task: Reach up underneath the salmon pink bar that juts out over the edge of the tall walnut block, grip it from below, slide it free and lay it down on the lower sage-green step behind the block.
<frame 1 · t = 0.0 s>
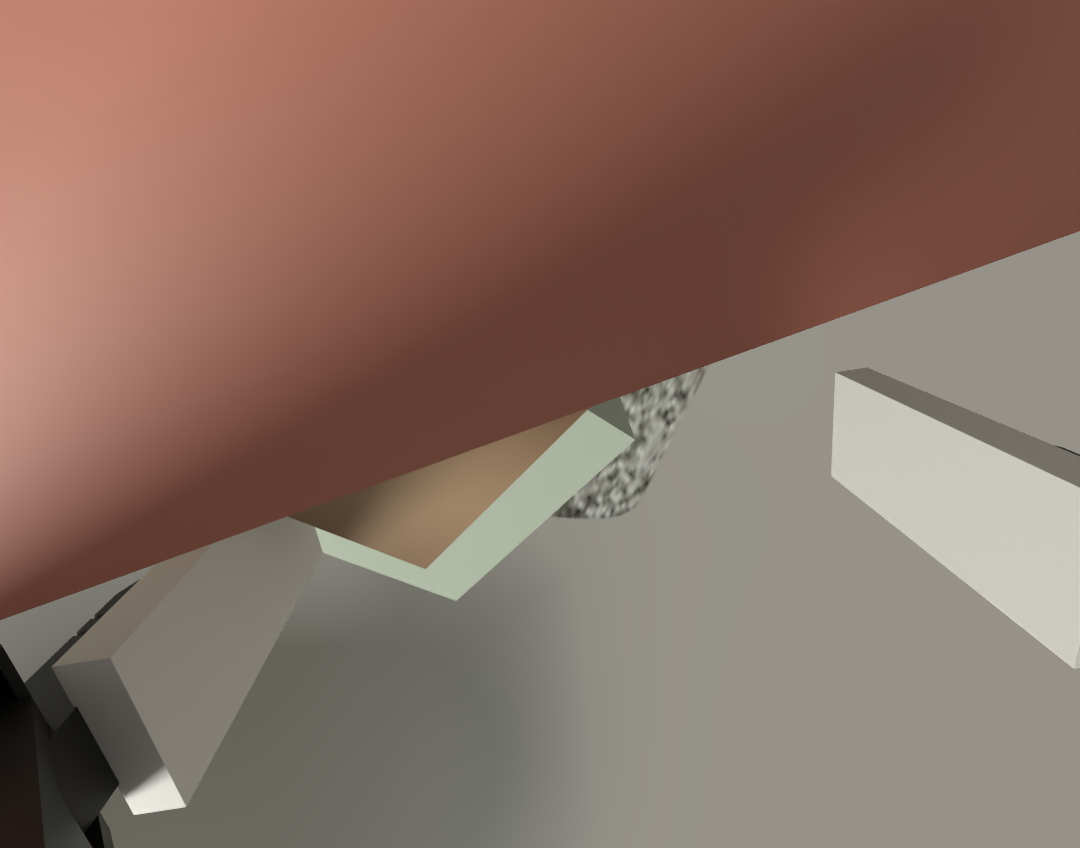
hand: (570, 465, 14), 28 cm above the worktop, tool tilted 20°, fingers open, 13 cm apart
sage step: (444, 292, 40), on the worktop
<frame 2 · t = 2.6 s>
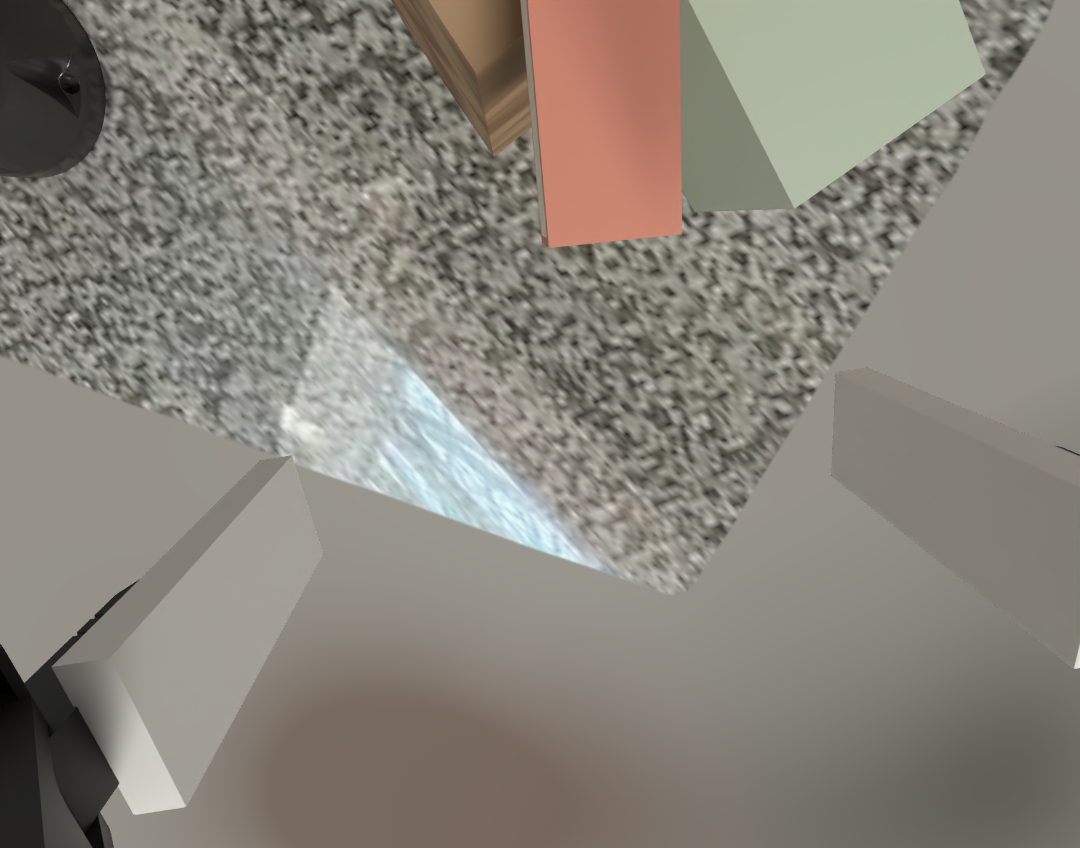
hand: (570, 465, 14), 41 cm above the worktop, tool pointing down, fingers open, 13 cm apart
sage step: (714, 96, 48), on the worktop
walnut block: (518, 34, 46), on the worktop
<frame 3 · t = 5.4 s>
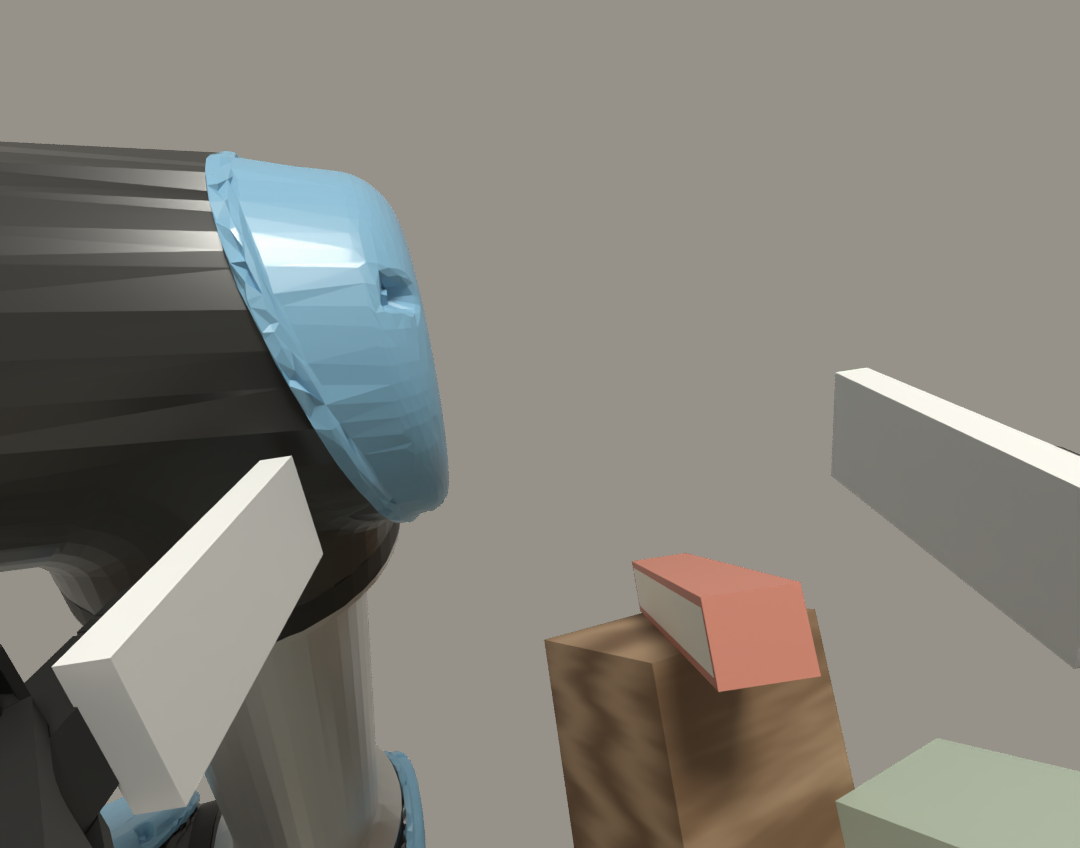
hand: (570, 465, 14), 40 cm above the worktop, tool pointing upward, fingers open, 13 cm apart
salmon pink bar: (703, 633, 36), point 30 cm above the worktop, touching walnut block
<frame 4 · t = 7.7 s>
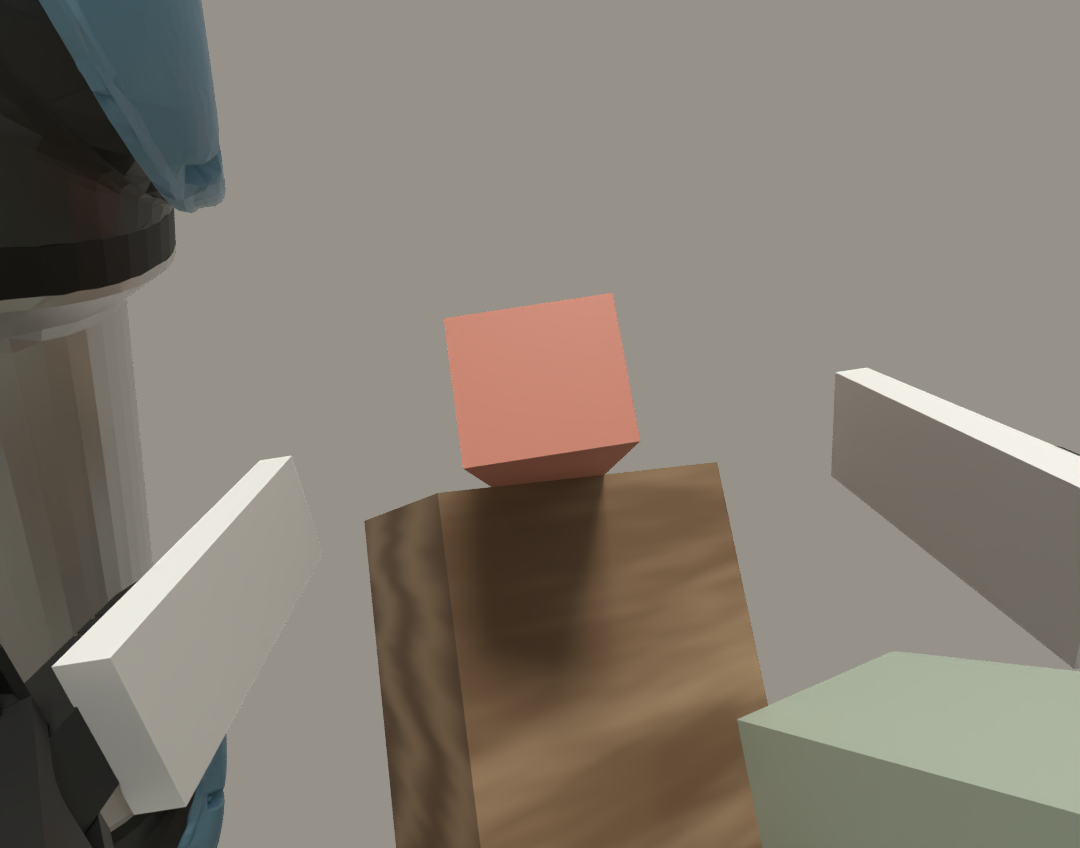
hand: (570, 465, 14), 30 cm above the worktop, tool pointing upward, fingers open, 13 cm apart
salmon pink bar: (551, 485, 25), point 30 cm above the worktop, touching walnut block
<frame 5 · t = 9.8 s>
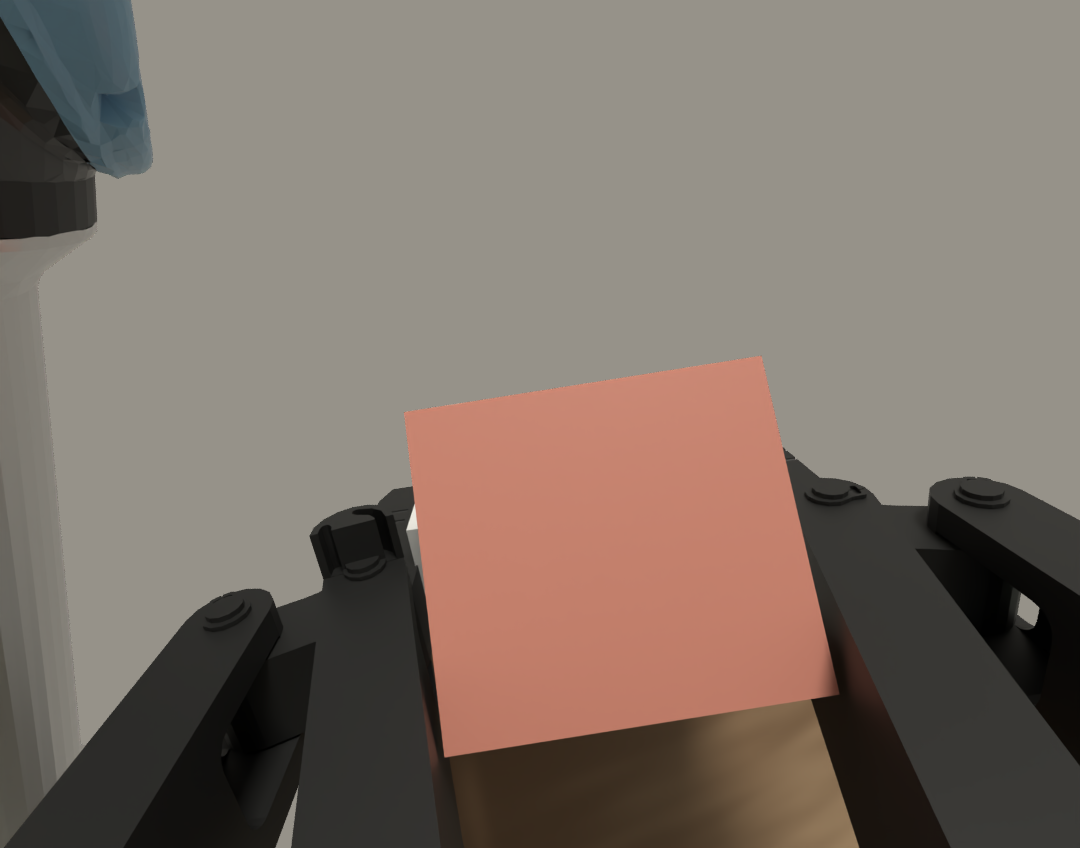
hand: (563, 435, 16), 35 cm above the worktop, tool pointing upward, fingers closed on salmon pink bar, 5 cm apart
salmon pink bar: (586, 597, 17), point 30 cm above the worktop, touching gripper, walnut block
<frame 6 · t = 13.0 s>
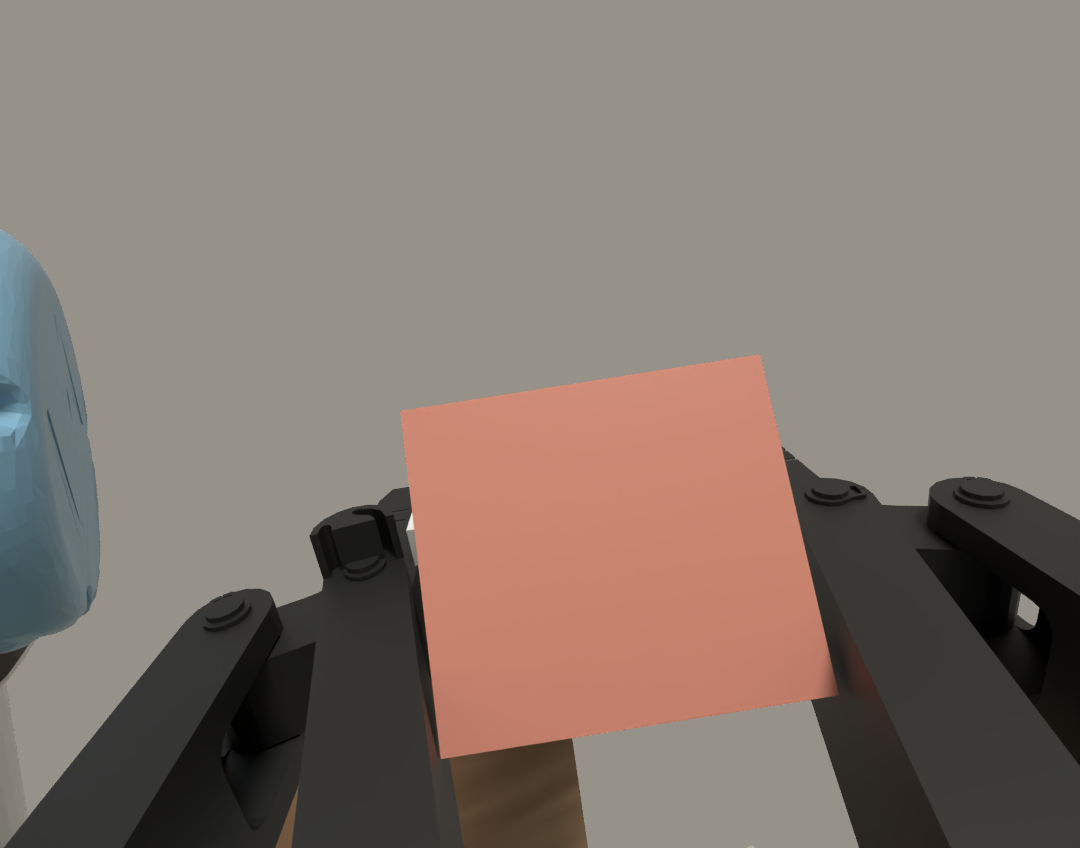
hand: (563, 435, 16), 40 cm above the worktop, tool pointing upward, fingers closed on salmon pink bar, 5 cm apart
salmon pink bar: (585, 597, 17), point 35 cm above the worktop, touching gripper
when the fingers open (25 cm above the worktop, at t = 15.8 s): salmon pink bar drops 1 cm, resting on sage step.
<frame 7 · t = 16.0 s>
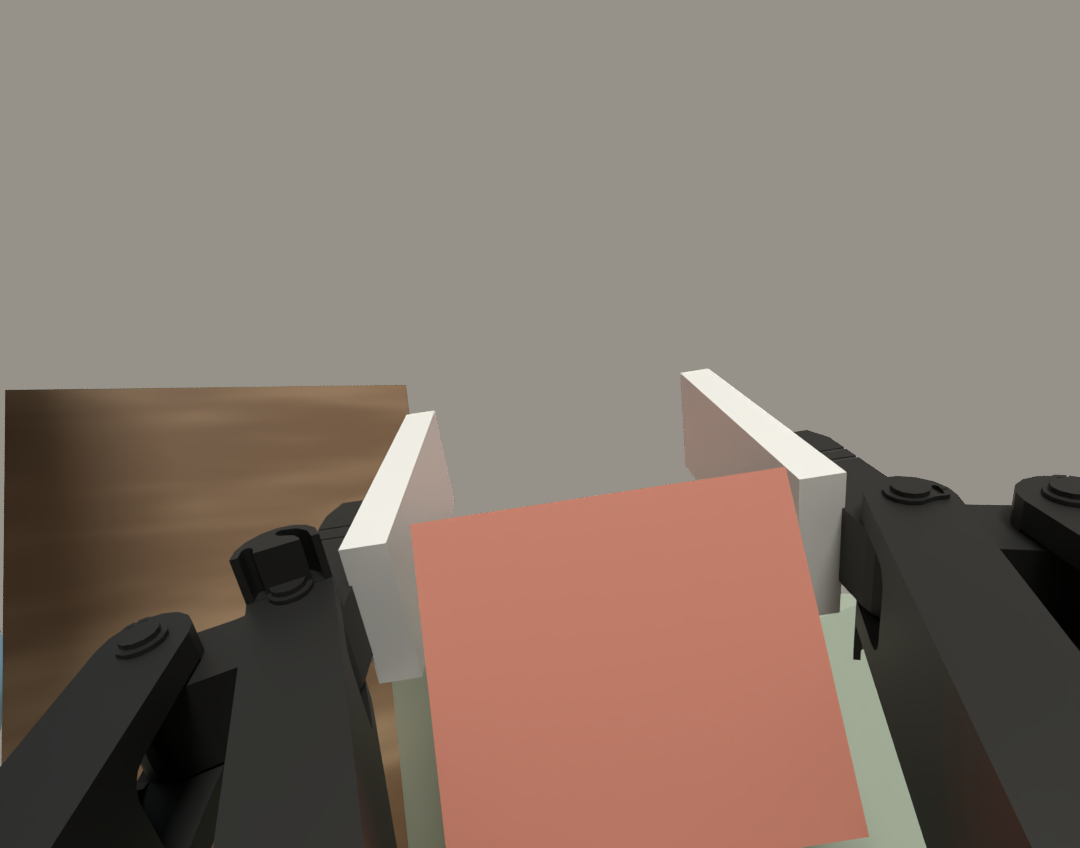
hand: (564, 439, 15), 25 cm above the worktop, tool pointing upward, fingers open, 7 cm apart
salmon pink bar: (591, 646, 17), point 19 cm above the worktop, touching sage step
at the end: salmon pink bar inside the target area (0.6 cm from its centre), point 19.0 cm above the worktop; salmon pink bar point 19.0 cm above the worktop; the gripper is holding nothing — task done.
